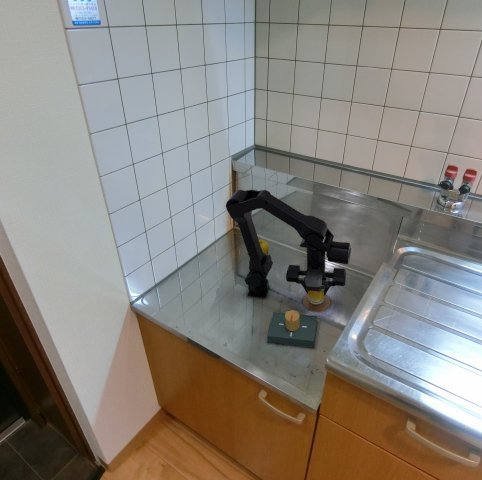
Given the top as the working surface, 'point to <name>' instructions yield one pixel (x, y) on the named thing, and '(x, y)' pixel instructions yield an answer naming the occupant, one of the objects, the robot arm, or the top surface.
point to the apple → (264, 246)
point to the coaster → (316, 307)
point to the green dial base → (298, 337)
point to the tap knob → (292, 320)
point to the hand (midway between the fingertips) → (316, 293)
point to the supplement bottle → (316, 296)
